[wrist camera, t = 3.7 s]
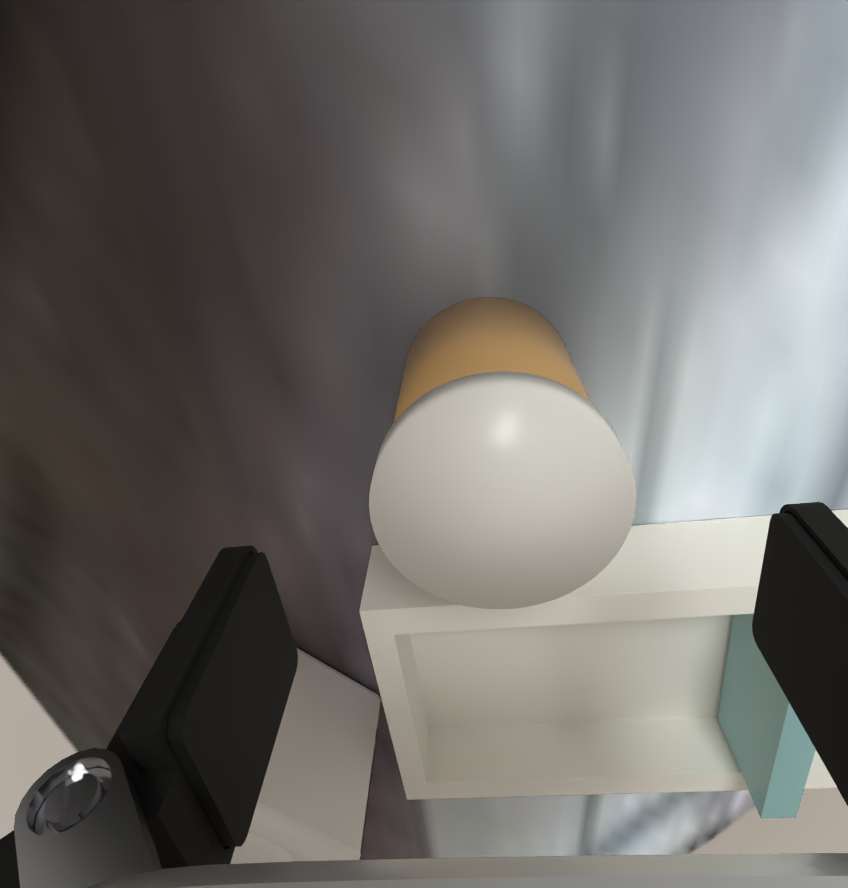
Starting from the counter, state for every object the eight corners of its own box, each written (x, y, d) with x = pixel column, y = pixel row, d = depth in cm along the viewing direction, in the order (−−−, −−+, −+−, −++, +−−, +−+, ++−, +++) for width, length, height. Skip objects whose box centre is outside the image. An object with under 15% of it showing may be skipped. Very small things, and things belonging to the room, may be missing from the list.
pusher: (740, 573, 21) (797, 666, 18) (868, 564, 21) (954, 658, 17) (717, 717, 25) (760, 818, 21) (825, 713, 25) (888, 815, 21)
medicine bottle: (300, 762, 30) (216, 1104, 20) (176, 698, 28) (11, 1041, 18) (384, 694, 27) (340, 1053, 17) (254, 618, 25) (112, 971, 15)
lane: (372, 545, 23) (347, 671, 18) (895, 505, 21) (1040, 635, 16) (412, 725, 28) (402, 864, 23) (834, 708, 26) (928, 855, 21)
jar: (385, 302, 18) (345, 406, 12) (574, 279, 18) (641, 375, 11) (412, 461, 21) (391, 616, 15) (576, 446, 21) (631, 601, 14)
